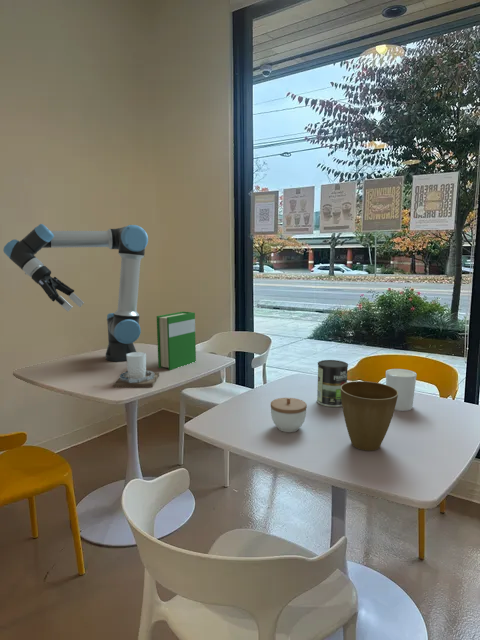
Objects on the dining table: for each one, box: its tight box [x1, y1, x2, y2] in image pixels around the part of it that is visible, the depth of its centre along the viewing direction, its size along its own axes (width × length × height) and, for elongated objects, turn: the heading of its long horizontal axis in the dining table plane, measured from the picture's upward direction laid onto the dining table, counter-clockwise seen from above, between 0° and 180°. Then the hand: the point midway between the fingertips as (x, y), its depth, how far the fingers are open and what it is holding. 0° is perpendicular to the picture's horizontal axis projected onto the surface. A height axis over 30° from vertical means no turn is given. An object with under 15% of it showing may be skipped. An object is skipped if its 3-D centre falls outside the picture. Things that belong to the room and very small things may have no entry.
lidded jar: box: [270, 397, 308, 433], centre depth 129 cm, size 11×11×9 cm
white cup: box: [126, 351, 147, 378], centre depth 175 cm, size 8×8×10 cm
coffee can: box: [316, 359, 349, 408], centre depth 150 cm, size 10×10×14 cm
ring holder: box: [113, 369, 160, 388], centre depth 176 cm, size 15×15×3 cm
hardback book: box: [156, 311, 197, 371], centre depth 200 cm, size 18×7×24 cm, turn 145°
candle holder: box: [385, 368, 418, 412], centre depth 146 cm, size 10×10×12 cm
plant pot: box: [340, 380, 398, 452], centre depth 117 cm, size 15×15×16 cm
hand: (76, 307), depth 181 cm, fingers open, 13 cm apart
